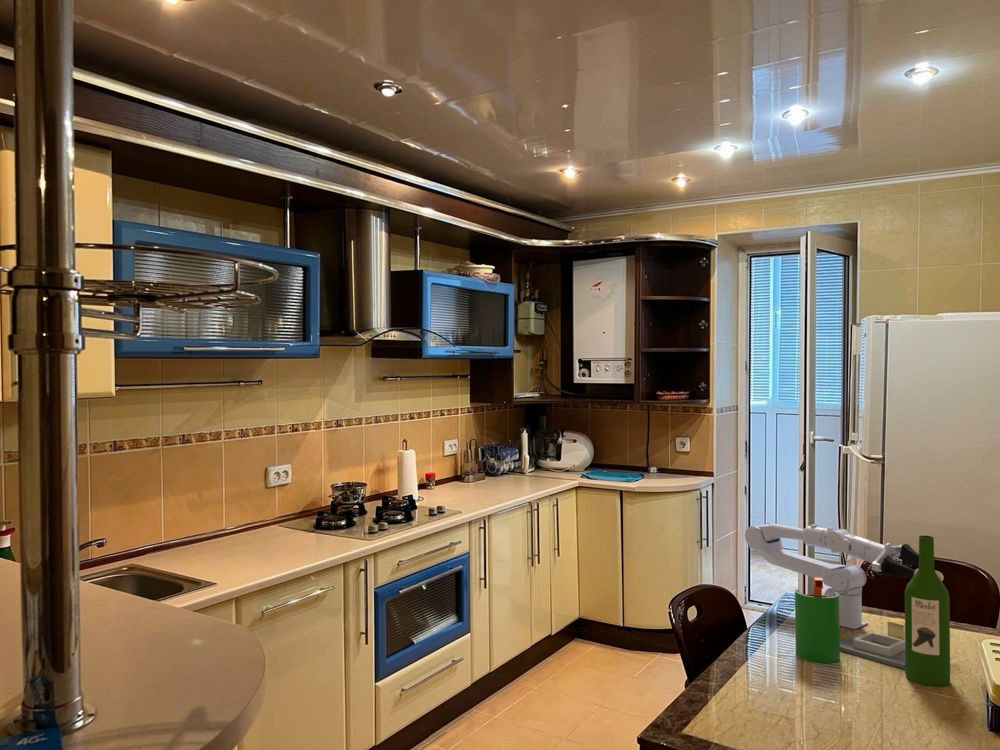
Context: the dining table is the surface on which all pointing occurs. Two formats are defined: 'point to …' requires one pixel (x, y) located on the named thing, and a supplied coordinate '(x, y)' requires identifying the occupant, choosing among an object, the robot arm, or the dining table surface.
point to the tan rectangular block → (896, 628)
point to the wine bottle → (927, 622)
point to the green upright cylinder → (817, 625)
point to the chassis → (876, 648)
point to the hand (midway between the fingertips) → (921, 569)
